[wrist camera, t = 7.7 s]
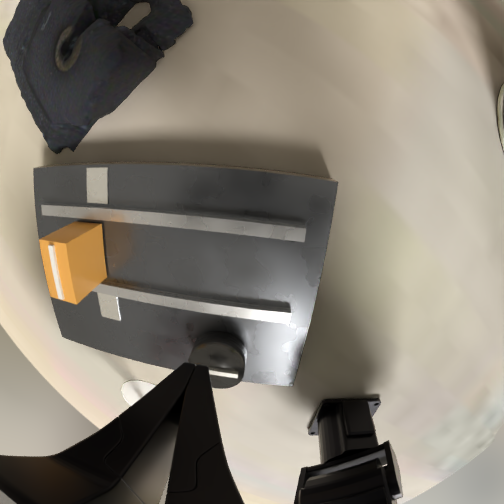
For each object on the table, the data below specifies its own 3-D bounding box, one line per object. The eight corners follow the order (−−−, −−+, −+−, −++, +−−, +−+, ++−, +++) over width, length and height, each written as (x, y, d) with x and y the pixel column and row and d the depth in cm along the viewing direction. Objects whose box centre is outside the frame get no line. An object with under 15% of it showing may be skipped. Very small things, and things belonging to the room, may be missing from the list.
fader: (107, 277, 18) (75, 306, 14) (81, 271, 18) (48, 298, 14) (101, 223, 17) (63, 244, 13) (75, 221, 17) (37, 240, 13)
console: (291, 369, 23) (293, 407, 19) (72, 326, 23) (50, 350, 19) (331, 178, 17) (348, 187, 13) (49, 165, 18) (13, 172, 14)
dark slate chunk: (95, -57, 9) (73, -74, 4) (212, 32, 14) (194, 2, 10) (2, 46, 13) (-26, 42, 9) (70, 172, 18) (30, 182, 14)
